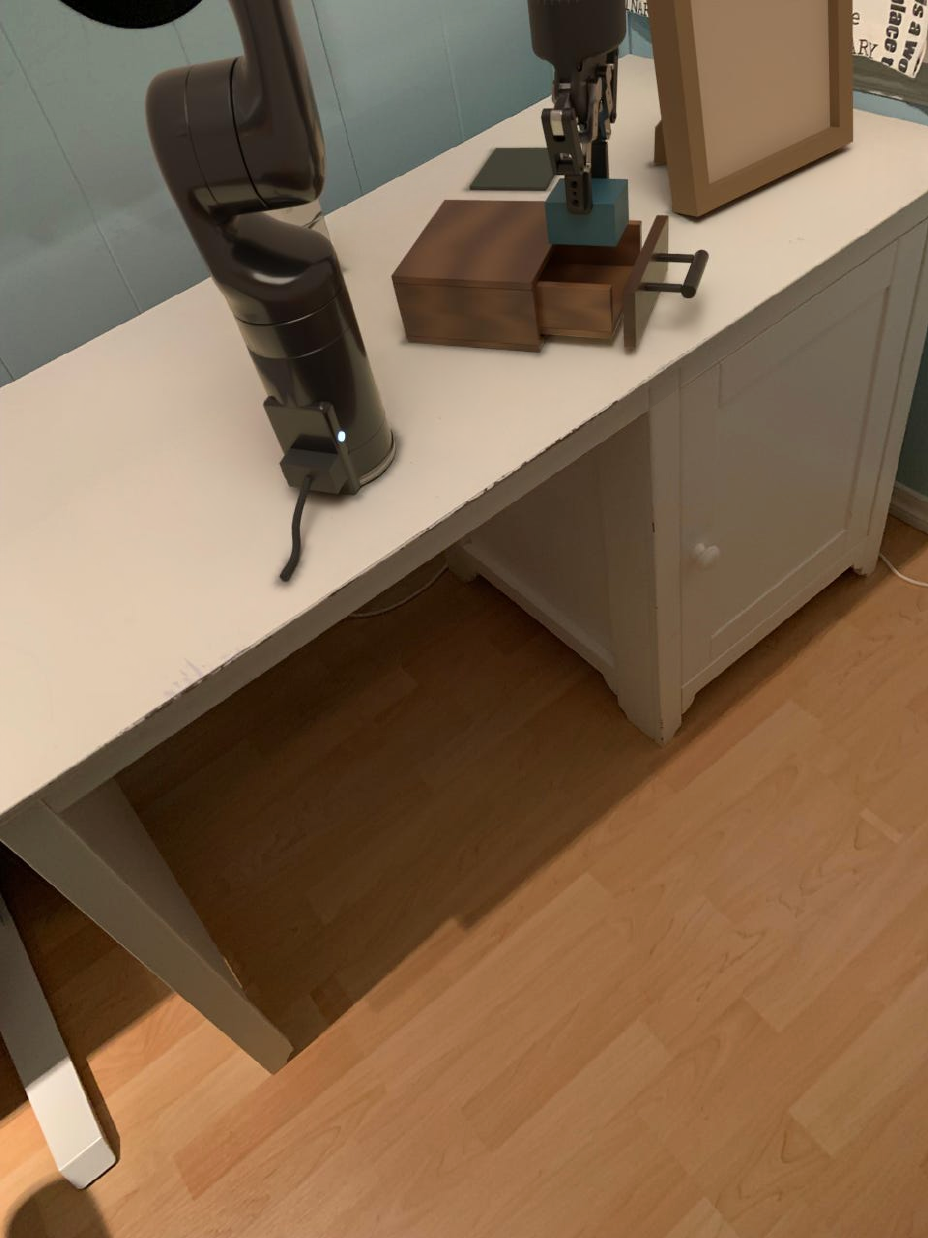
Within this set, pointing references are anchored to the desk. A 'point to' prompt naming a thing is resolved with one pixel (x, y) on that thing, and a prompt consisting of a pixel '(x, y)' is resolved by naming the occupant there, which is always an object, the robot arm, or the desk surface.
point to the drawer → (611, 284)
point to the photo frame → (748, 92)
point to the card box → (589, 215)
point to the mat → (515, 170)
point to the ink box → (303, 217)
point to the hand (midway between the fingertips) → (588, 197)
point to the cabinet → (476, 276)
